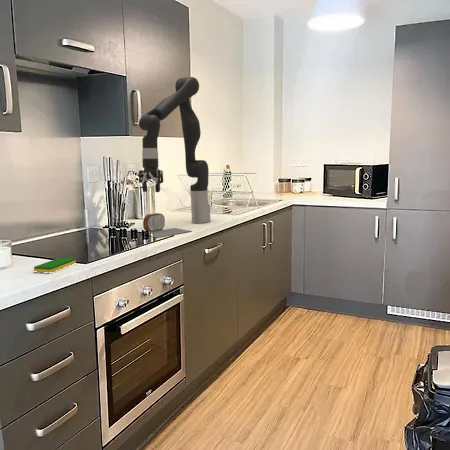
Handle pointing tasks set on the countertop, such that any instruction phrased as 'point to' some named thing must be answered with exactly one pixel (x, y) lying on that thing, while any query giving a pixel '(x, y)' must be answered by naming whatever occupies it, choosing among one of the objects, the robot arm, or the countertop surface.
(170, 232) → the mat
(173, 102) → the robot arm
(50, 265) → the dish sponge
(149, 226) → the tin
